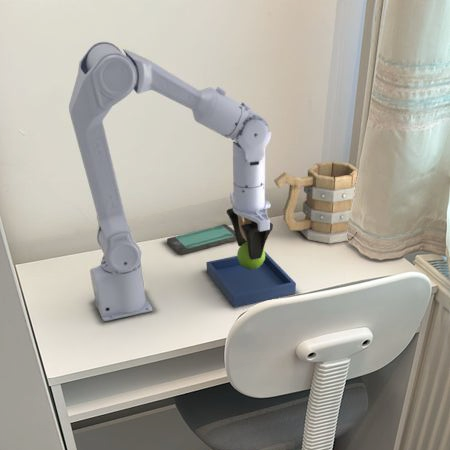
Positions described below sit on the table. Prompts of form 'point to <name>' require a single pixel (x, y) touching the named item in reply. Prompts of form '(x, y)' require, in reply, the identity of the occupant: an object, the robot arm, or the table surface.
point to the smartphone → (201, 239)
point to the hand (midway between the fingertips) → (249, 251)
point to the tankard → (321, 201)
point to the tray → (250, 280)
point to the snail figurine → (243, 250)
